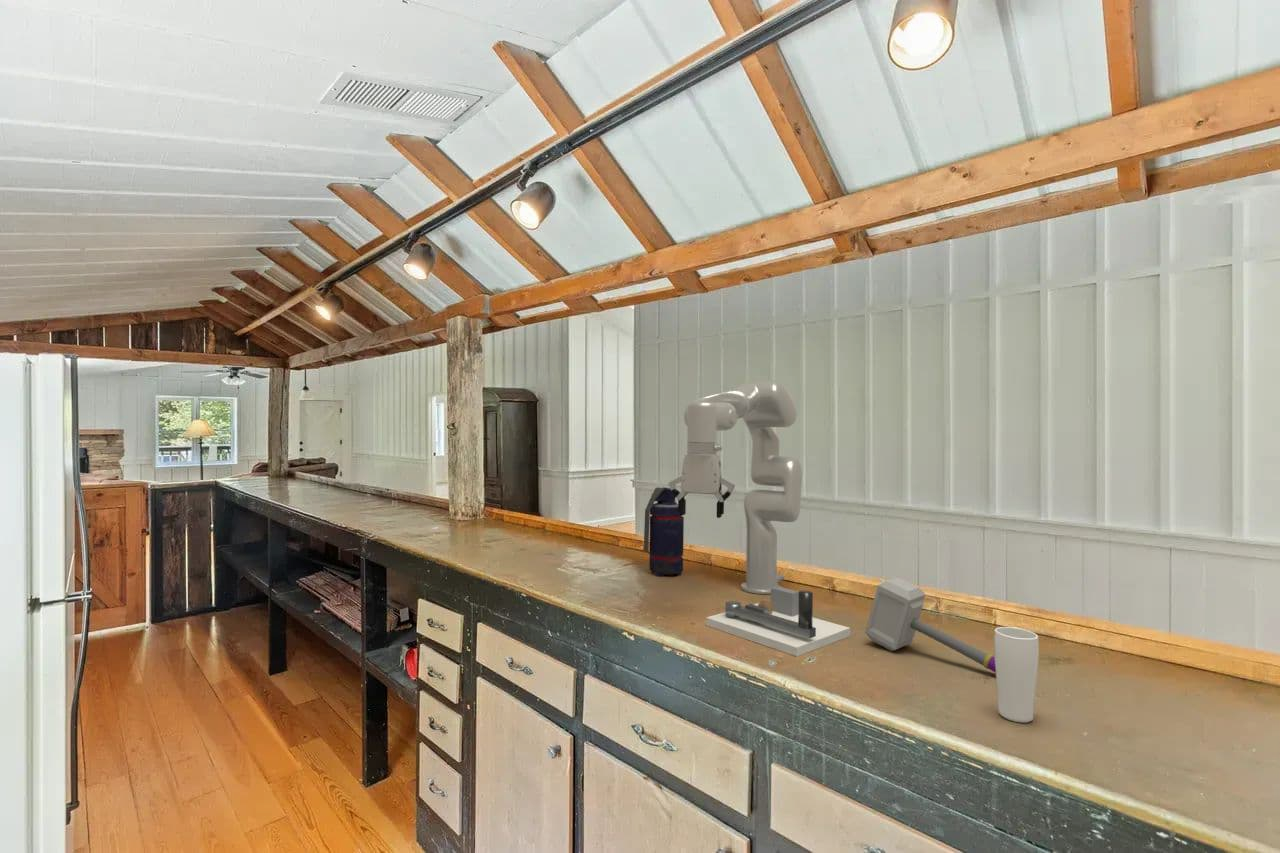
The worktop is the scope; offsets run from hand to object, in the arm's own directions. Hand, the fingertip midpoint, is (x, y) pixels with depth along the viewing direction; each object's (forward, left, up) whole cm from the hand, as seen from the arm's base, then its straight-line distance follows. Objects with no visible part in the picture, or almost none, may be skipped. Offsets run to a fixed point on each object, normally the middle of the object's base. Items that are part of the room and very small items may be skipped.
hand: (700, 516), depth 159 cm
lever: (-8, +16, -26) cm, 31 cm away
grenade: (-32, -48, -29) cm, 64 cm away
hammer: (-25, +50, -29) cm, 62 cm away
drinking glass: (-8, +71, -29) cm, 77 cm away
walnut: (-13, +11, -26) cm, 31 cm away
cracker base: (-13, +15, -28) cm, 34 cm away
